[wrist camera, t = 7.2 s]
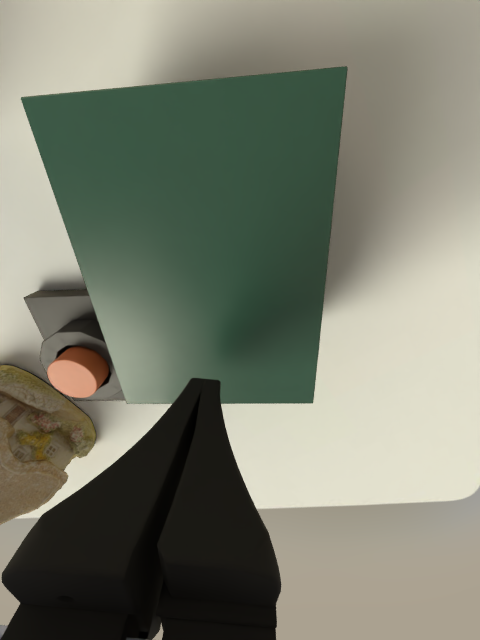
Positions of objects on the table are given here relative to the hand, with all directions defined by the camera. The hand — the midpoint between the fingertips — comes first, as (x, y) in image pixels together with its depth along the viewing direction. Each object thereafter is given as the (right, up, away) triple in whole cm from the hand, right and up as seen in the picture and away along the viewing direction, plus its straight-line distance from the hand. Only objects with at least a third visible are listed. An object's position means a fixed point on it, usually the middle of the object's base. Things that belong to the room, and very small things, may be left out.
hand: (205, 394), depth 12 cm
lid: (0, +5, 0) cm, 5 cm away
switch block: (-10, +1, +10) cm, 15 cm away
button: (-10, 0, +8) cm, 13 cm away
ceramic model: (-20, -7, +15) cm, 26 cm away
